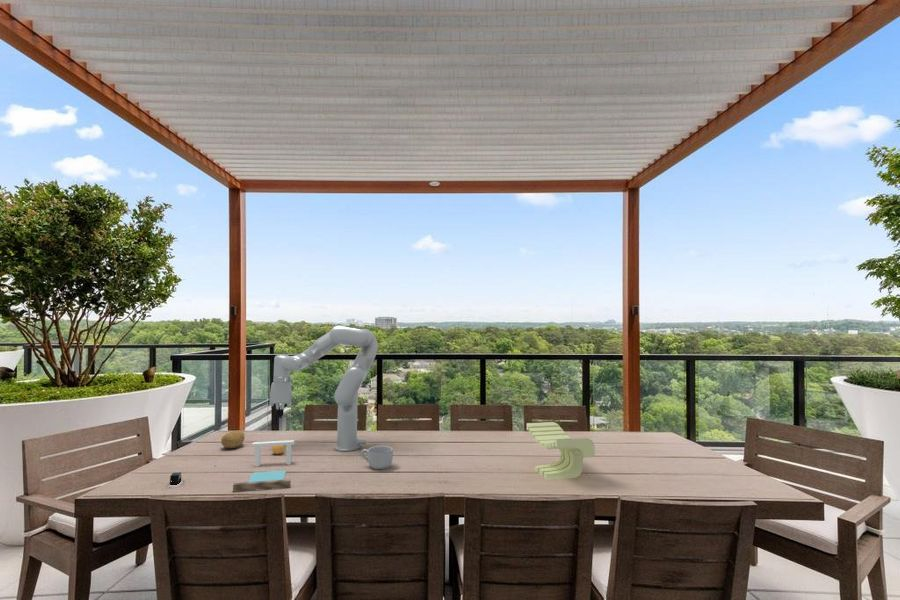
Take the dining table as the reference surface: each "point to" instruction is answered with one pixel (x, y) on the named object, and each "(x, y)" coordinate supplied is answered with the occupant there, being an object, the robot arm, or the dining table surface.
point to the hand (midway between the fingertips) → (279, 417)
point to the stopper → (262, 485)
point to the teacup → (379, 456)
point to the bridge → (273, 443)
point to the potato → (233, 439)
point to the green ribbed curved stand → (561, 450)
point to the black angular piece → (175, 478)
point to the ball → (278, 449)
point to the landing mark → (267, 476)
